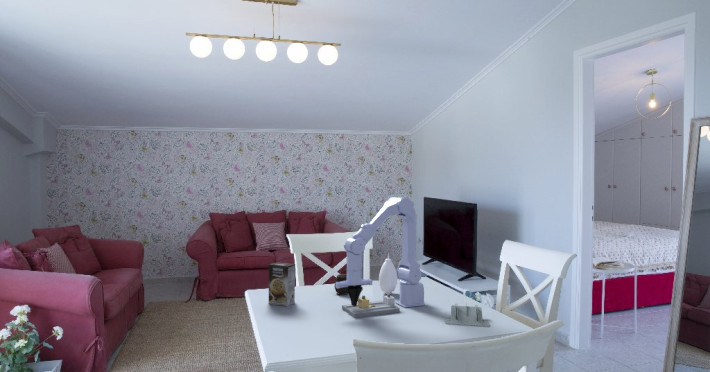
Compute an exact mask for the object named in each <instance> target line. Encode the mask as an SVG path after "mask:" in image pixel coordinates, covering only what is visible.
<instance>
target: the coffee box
mask: <svg viewBox="0 0 710 372" xmlns="http://www.w3.org/2000/svg"><path fill="white" fill-rule="evenodd" d="M295 288H296V263H288V262H279V261H277V262H272V263H270V264H268V304H269V305H276V306H282V307H283V306H284V307H289V306H291V305H293V304H295V303H296V301H295V298H296V293H295V292H296V289H295Z"/></svg>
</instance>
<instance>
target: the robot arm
mask: <svg viewBox="0 0 710 372" xmlns="http://www.w3.org/2000/svg"><path fill="white" fill-rule="evenodd" d="M414 206H415V203H414V201H412V200H411V199H410V198H408V197H401V196H400V197H399V196H391V197H389V198H388V199H387V200H386V201H385V202H384V204H383V206H382V207H381V208H380V210H379V211H378V212H377V213H376V215H375V216H374V217H373V218H372V220H371V221H370V222H369V223H363V224H361V225H360V228H359V229H358V230H357V231H356V233H353V234H352V237H349V238H348V239H346V241H345V243H344V245H343V248H344V250H345V252H346V274H347V280H346V281H341V282H336V281H335V282H336V284H335V283H334V288H335V287H336V288H337V289H338V288H343V287H346V289H347V291H348V294H347V295H348V296H349V300H350V303H351V305H353V306H357V304H358V298H360V296H361V293H362V291H363V289H364V288H363V286H373V279H371V278H368V279H367V278H366V279H363V278H362V277H363V274H362V273H363V272H362V271H363V268H362V267H363V252H365V249H366V246H367V244H368V243H369V242H370V241H371V239H373V237H374V236H375V235H376V234H377V229H378V227H380V226H382V224H383V223H384V222H385V221H387V219H388V218H390V217H391V216H396V215H397V216H398V217H399V218H400V219H402V239H401V241H402V243H401V244H402V245H401V250H402V252H401V259H400V260H399V261H398V266H397V268H396V274H397V279H399V300H398V301H397V300H395V304H398V305H400V306H401V307H403V308H411V307H412V308H413V307H419V306H425V305H426V304H425V287H424V284H423V282H421V279H422V271H421V267H420V262H418V260H417V259H416V258H417V257H416V256H417V254H416V253H417V219H418V218H417V213H416V211H415V208H414Z"/></svg>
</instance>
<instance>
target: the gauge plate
mask: <svg viewBox="0 0 710 372" xmlns="http://www.w3.org/2000/svg"><path fill="white" fill-rule="evenodd" d="M391 294H392V293H390V294H386V295H383V296H382V297H383V299H382V300H376V301H369V308H361V307H359V306H358V303H357V306H353V305H351V304H349V303H348V304H344V305H341V310H343V312H345V313H347V314H348V315H350V317H352V318H353V319H358V318H364V317H365V318H366V317H372V316H381V315H387V314H394V313H395V314H396V313H400V312H401V311H400V307H398V306H397V305H396V298H395V297H394V296H392V295H391Z"/></svg>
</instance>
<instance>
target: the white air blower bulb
mask: <svg viewBox="0 0 710 372" xmlns="http://www.w3.org/2000/svg"><path fill="white" fill-rule="evenodd" d="M396 271H397V268H396V267H395V264H394V263H393V261H392V259H391V258H390V253H389V252H388V253H387V258H385V260H384V262H383V263H382V265H381V268H380V271H379V275H378V282H379V285H378V286H379V287H380V290H381V291H382V292H383V293H384V294H385V295H387V294H392V293H393V292H395V290H396V288H397V286H398V285H397V284H398V277H397V274H396Z"/></svg>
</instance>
